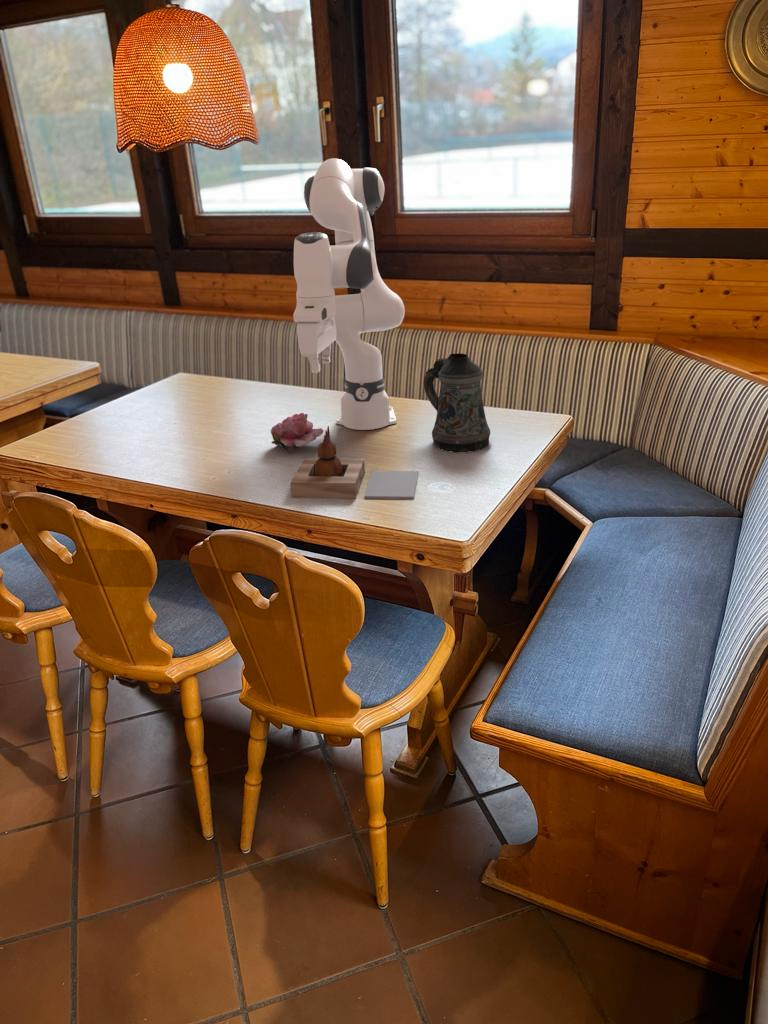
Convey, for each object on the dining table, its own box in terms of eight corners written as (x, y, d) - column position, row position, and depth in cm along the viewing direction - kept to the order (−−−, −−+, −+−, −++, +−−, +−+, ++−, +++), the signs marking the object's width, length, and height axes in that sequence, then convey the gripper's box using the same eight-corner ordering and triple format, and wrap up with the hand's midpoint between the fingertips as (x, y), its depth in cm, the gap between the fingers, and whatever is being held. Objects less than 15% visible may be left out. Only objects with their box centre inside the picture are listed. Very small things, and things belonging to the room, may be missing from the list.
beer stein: (487, 454, 206) (489, 363, 195) (417, 451, 210) (415, 363, 199) (492, 433, 220) (494, 348, 210) (426, 431, 224) (425, 348, 213)
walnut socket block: (305, 472, 199) (303, 458, 197) (365, 472, 197) (364, 458, 195) (291, 497, 185) (290, 482, 183) (356, 498, 183) (355, 483, 181)
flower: (332, 431, 219) (318, 400, 215) (315, 455, 207) (300, 423, 203) (288, 441, 225) (275, 412, 221) (269, 465, 213) (255, 435, 209)
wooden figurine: (330, 478, 195) (326, 422, 188) (347, 483, 191) (343, 426, 185) (312, 486, 190) (307, 430, 184) (328, 492, 187) (324, 434, 180)
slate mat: (372, 472, 197) (372, 470, 197) (418, 473, 195) (418, 471, 195) (364, 498, 182) (364, 496, 182) (413, 498, 181) (413, 496, 181)
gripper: (315, 301, 183) (319, 358, 189) (290, 315, 165) (296, 378, 171) (340, 301, 182) (344, 358, 188) (318, 315, 164) (323, 378, 169)
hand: (321, 367), depth 179 cm, fingers open, 8 cm apart
